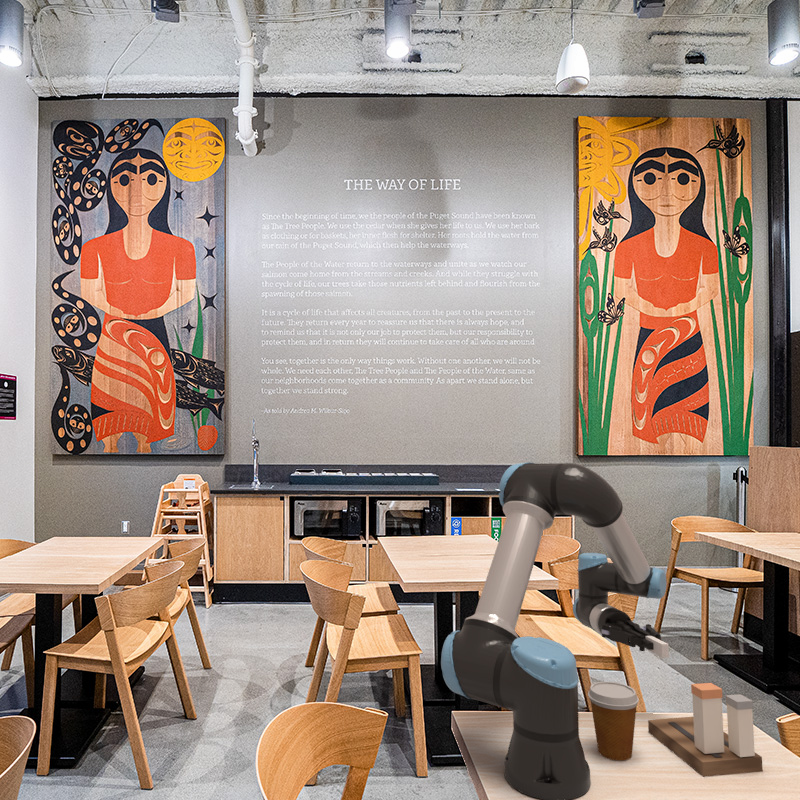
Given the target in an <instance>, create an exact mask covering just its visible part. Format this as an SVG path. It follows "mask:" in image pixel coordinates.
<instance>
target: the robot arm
mask: <svg viewBox="0 0 800 800" xmlns="http://www.w3.org/2000/svg"><path fill="white" fill-rule="evenodd" d="M498 490H499V493H498V499H499V503H500V505H501V507H502V511H503V514H504V515H505V517H506V518H505V521H504V525H503V527H502V531H501V533H500V537H499V539H498V542H497V546H496V549H495V552H494V553H493V554H494V555H493V558H492V560H491V564H490V567H489V569H488V571H487V576H486V578H485V582H484V584H483V585H484V586H483V588H482V591H481V594H480V596H479V600H478V603H477V606H476V609H475V613H474V614H473V615H471V616H468V617H466V618H465V619H464V621H463V625H462V628H461V629H460V630H458V629H457V630H454V631H452V632H450V634H448V635H447V637H445V640H444V642H443V644H442V645H443V646H442V649H441V655H440V656H441V658H440V666H441V671H442V677H443V681H444V682H445V684H446V686H447V687H448V688H449V690H450V691H451V692H453V693H455V694H457V695H459V696H462V697H465V698H466V699H469V700H476V701H480V702H483V703H487V704H489V705H493V706H496V707H500V708H501V709H502V708H503V709H506V710H509V711H512V718H513V722H512V724H513V725H512V726H513V729H512V734H511V737H510V741H509V745H508V749H507V753H506V755H505V758H504V778H505V780H506V782H507V783H508V784H509V785H510V786H511V787H512V788H513V789H515V790H517V791H519V792H520V793H522V794H524V795H527V796H530V797H533V798H536V799H541V800H572V799H576V798H579V797H581V796H583V795H585V794H586V793H587V792H588V791H589V790H590V787H591V769H590V765H589V763H588V761H587V760H586V756H585V753H584V752H585V750H584V747H583V744H582V742H581V738H580V735H579V734H580V728H579V727H580V726H579V688H578V687H579V684H578V683H579V675H578V670H577V669H578V666H577V660H576V658H575V655H574V653H572V651H571V650H570V649H569V648H568V647H566V646H565V645H564V644H562V643H560V642H557V641H555V640H552V639H548V638H545V637H539V636H537V637H533V636H527V635H526V636H521V637H519V636H518V634H517V632H516V627H517V623H518V621H519V617H520V613H521V610H522V609H521V608H522V607H523V606H522V605H523V603H524V599H525V597H526V596H525V595H526V592H527V589H528V585H529V583H530V582H529V581H530V577H531V574H532V571H533V568H534V564H535V561H536V557H537V554H538V550H539V546H540V543H541V541H542V536H543V534H544V531H545V530H547V529H549V528H551V527H552V526H553V524H554V520H555V517H556V515H561V516H562V515H564V516H573V517H577V518H580V519H581V520H582V521H583V524H585V525H587V526H588V527H590V528H591V529H592V530H593V532H594V533H595V535H596V536H597V538H598V540H599V542H600V543H601V545H602V547H603V548H604V550H605V552H606V554H607V555H606V554H604V553H599V552H598V553H597V552H584V553H581V554H579V555H578V564H577V578H578V579H577V580H578V581H577V582H578V595H577V598H576V599H575V600H574V602H573V605H572V612H573V616H574V618H575V619H576V620H577V621H578V622H580V623H581V624H582V625H583V626H584V627H587V628H589V629H591V630H593V631H595V632H596V633H599V634H600V635H601V637H602V638H606V639H608V640H610V641H612V642H614V643H620V644H623V645H626V646H629V647H631V648H636V647H639V651H640V652H645V651H646V650H648V651H649V652H652V653H654V654H655V655H656V656H659V657H661V658H669V657H670V652H669V651H670V649H669V643H666V642H665V641H663V640H662V636H661V634H660V633H659V632H658V631H657V630H655V629H654V628H653V627H652V624H649V623H647V624H645V625H644V624H643V626H640V625H639V624H638V623H636V622H635V623H634V621H633V620H632V618H630V616H629V614H628V613H626V612H625V611H622V610H620V609H618V608H616V607H615V606H612V605H610V604H609V601H608V600H609V593H612V594H619V595H620V594H621V595H626V596H633V597H641V598H646V599H662V598H663V597H664V596H665V595H666V592H667V591H666V590H667V583H668V582H667V575H666V573H665V571H664V570H663V569H661V568H658V567H656V566H650V564H649V563H648V561H647V559H646V556H645V555H644V553H643V551H642V549H641V548H640V545H639V543H638V541H637V539H636V537H635V535H634V533H633V532H632V529H631V527H630V526H629V523H628V522H627V519H626V518H625V516H624V514H623V512H624V511H623V510H624V506H623V502H622V500H621V499H620V498H621V497H619V494H618V493H617V491H616V490H615V489H614V487H613V486H612V485H611V484H609V482H608V481H606V480H605V479H604V478H603V477H602V476H600V474H598V473H597V472H595V471H593V470H592V469H590V468H588V467H586V466H584V465H582V464H579V463H578V464H577V463H573V462H564V463H562V462H561V463H550V462H549V463H548V462H547V463H543V462H542V463H540V462H539V463H536V462H531V461H529V462H528V461H527V462H523V463H521V462H520V463H514V464H511V466H509V467H508V468H507V469H506V470H505V471H504V473H503V474H502V476H501V479H500V481H499V486H498ZM608 557H609V559H610V560H611V562H609V561H608Z"/></svg>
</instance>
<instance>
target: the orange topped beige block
mask: <svg viewBox="0 0 800 800" xmlns="http://www.w3.org/2000/svg"><path fill="white" fill-rule="evenodd" d="M690 686H691V688H690V690H691V691H690V692H691V695H692V696H691V697H692V714H693V715H692V717H693V719H694V741H695V747H696V748H698V749H699V750H700V751H702V752H703V753H704V754H709V753H721V752H724V735H723V732H724V719H723V718H724V717H723V716H724V715H723V689H722V687H719V686H717V685H716V684H713V683H712V682H705V683H691V684H690Z"/></svg>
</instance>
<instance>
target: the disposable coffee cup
mask: <svg viewBox="0 0 800 800" xmlns="http://www.w3.org/2000/svg"><path fill="white" fill-rule="evenodd" d="M587 696H588V698H589V701H590V707H591V712H592V717H593V718H592V720H593V724H594V725H593V726H594V732H595V733H594V734H595V739H596V744H597V752H598V753H599V755H600V754H601V755H600V756H602V757H604V758H605V759H607V760H612V761H617V762H618V761H619V762H620V761H621V762H622V761H628V760H630V759H632V757H633V748H634V737H635V736H634V735H635V725H636V713H637V706H638V704H639V700H640V699H639V697H638V695H637V692H636V690H635V689H634V688H633V687H631V686H629V685H628V684H624V683H620V682H616V681H615V682H613V681H599V682H598V681H597V682H594V683H592V684H591V685H590V686H589V691H588V692H587Z"/></svg>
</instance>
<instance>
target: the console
mask: <svg viewBox="0 0 800 800" xmlns="http://www.w3.org/2000/svg"><path fill="white" fill-rule="evenodd" d="M647 724H648V725H647V726H648V733H649V734H650V735H651V736H652V735H653V736H652V737H654V739H656V740H657V741H658V742H660V743H661V744H662V745H664V747H666V748H667V749H668V750H670V751H671V752H672V753H673V754H674V755H676V756H677V757H678V758H680V759H681V760H682V761H683V762H685V764H687V765H688V766H689V767H691V768H692V769H693V770H694V771H695V772H697V773H698V774H699V775H701V776H702V777H714V776H723V775H725V776H727V775H734V774H735V775H736V774H745V773H747V774H748V773H757V772H764V771H763V756H761V755H760V754H758V753H757V752H755V756H748V757H739V756H738V755H736V754H735V753H733V752H732V751H730V750H729V740H728V733H726V732H725V731H723V735H724V752H721V753H709V754H704V753H703V752H702V751H700V750H699V749H698V748H696V747H695V741H694V719H693V716H682V717H672V718H657V719H648V720H647Z"/></svg>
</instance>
